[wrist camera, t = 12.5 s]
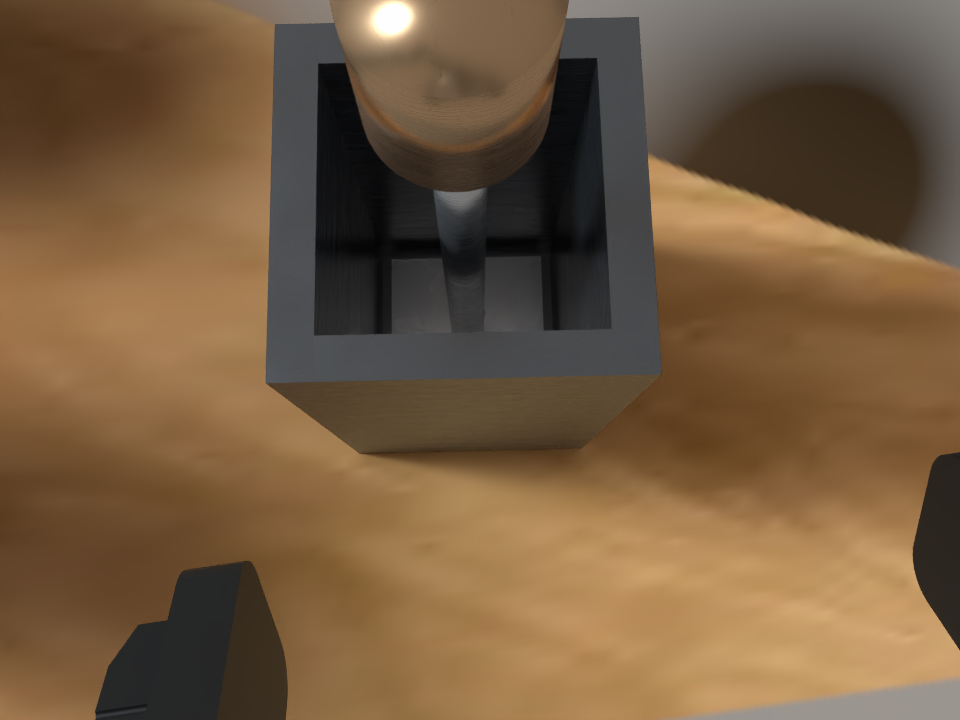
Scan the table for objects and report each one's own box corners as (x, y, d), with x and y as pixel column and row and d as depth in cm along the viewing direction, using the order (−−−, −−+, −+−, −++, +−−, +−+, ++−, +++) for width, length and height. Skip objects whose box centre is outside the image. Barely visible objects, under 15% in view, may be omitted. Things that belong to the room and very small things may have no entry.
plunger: (394, 410, 39) (244, 177, 14) (393, 266, 40) (256, -180, 16) (544, 407, 39) (660, 168, 14) (539, 263, 41) (635, -188, 16)
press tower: (359, 453, 40) (265, 383, 23) (360, 241, 42) (274, 24, 25) (581, 448, 40) (661, 374, 23) (572, 236, 42) (638, 17, 25)
